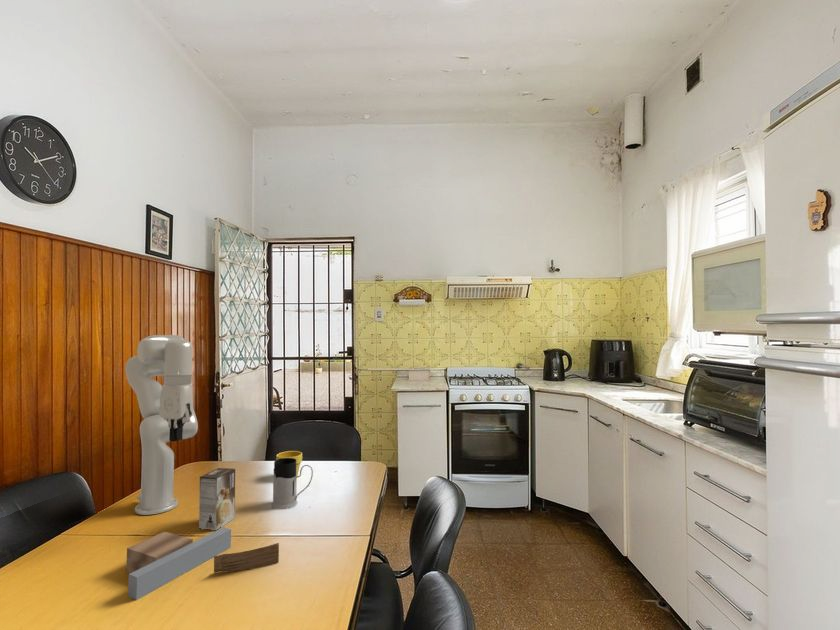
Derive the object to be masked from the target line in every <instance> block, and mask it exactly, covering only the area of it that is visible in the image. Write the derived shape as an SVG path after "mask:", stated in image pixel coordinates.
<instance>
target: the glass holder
mask: <svg viewBox="0 0 840 630" xmlns="http://www.w3.org/2000/svg"><path fill="white" fill-rule="evenodd" d="M304 467H309V468H310V471H311V474H310V475H311V476H310V480H309V482H308V483H307V485H306V486H305V487H304V488H303V489H302V490H301V491H299V492H298V493H297V484H298V483H297V482H298V481H297V479H298V478H300V477H301V476H302V471H303V468H304ZM313 475H314V470H313V467H312V466H311V465H309V464H305V465H302V467H300V469H299V475H298V476H297V474H296V459H294V458H282V459H278V460H276V459H275V460H274V462H273V483H272V485H273V487H272V492H273V493H272V496H273V497H272V503H271V508H273V509H274V508H275V510H288V509H292V508H294V507H296V506H297V505H298V501H297V499H298V496H299V495H300V494H302V493H303V492H304V491H305V490H306V489H307V488H308V487H309V486H310V484H311V483H312V481H313V477H314V476H313ZM291 507H292V508H291ZM287 508H288V509H287Z"/></svg>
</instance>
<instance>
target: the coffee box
mask: <svg viewBox="0 0 840 630" xmlns="http://www.w3.org/2000/svg"><path fill="white" fill-rule="evenodd" d="M198 498H199V503H198V504H199V505H198V506H199V508H198V509H199V511H198V512H199V513H198V514H199V515H198V529H199V528H201V529H200V530H204V529H211V530H210V531H214V530H217V529H218V530H219V528H220V527H221V528H223V527H225V525H226V524H228V523H230V522H231V521H232V520H234V519H235V517H236V516H235V515H236V514H235V513H236V468H227V467H217V468H216V469H213V470H211V471H209V472H207V473H205V474H203V475H200V476H199V496H198ZM221 528H220V529H221Z"/></svg>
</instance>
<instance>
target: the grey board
mask: <svg viewBox="0 0 840 630" xmlns="http://www.w3.org/2000/svg"><path fill="white" fill-rule="evenodd" d="M230 547H231V548H232V529H231V528H228V527H225V526H222V527H221V528H220V529H218V530H217V531H213V532H211V533H208V534H207V535H205V536H203V537H200V538H199V539H197V540H195V541H193V543H191V544H189V545H187V546H185V547H183V548H181V549H179V550H177V551H175V552H173V553H171V554H169V555H167V556H165V557H162V558H160V559H158V560H156V561H154V562H152V563H150V564H148V565H146V566H144V567H142V568H140V569H138V570H136V571H134V572H132V573H128V584H127V586H128V588H127V589H128V592H127V597H128V598H131V599H133V600H135V601H137V600H139V599H141V598H143V597H145V596H147V595H148V594H150V593H152V592H153V591H156V590H157V589H159V588H161V587H162V586H165V585H167V584H168V583H170V582H172V581H173V580H175V579H177V578H179V577H180V576H183V575H184V574H186V573H188V572H189V571H191V570H193V569H194V568H196V567H198V566H201V565H202V564H204V563H205V562H207V561H209V560H211V559H212V558H213V559H214V556H218V555H221V553H222V554H223V553H224V552H225V551H227V550H229V549H230ZM228 548H229V549H228Z"/></svg>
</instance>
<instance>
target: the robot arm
mask: <svg viewBox="0 0 840 630" xmlns="http://www.w3.org/2000/svg"><path fill="white" fill-rule="evenodd" d="M192 368H193V344H192V343H191V341H187V340H185V338H184V337H183V336H181V335H179V334H153V335H149V336H146V337H145V338H142V339H141V340H140V341H139V342H138V346H137V355H134V356H132V357H129V358H128V359H127V361H126V363H125V375H126V379H127V382H128V384H129V385H130V387H131V388H132V390H133V391H134V393H135V395H136V399H137V403H138V406H139V411H140V415H141V416H142V418H143V420H142V421H141V422H140V425H139V436H140V443H141V480H140V483H141V484H140V494H137V495H136V497H135V498H136V499H137V500H139V503H138V504H137V505H136V506H135V507H134V513H135V514H137V515H140V516H151V515H157V514H163V513H165V512H168V511H171V510H173V509H175V508H176V507H177V506H178V505H179V504H178V503H179V500H178V498H175V497H174V480H175V479H174V474H175V473H174V471H175V453H174V451H173V450H172V448H171V447H170V446H169V445H167V443H169V442H174V443H175V442H178V441H182V440H186V439H190V438H193V437H195V435H197V434H198V431H199V422H198V419H197V416H196V415H197V414H196V411H195V409H194V396H193V389H192V388H193V387H192V379H193V378H192V377H193V376H192V375H193V371H192V370H193V369H192ZM152 377H163V385H162V384H161V383H160V382H159V381H157V380H156V379H154V378H152Z"/></svg>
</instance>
